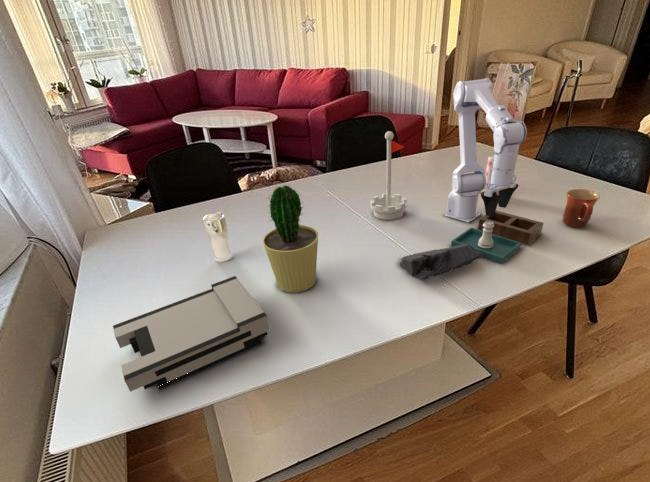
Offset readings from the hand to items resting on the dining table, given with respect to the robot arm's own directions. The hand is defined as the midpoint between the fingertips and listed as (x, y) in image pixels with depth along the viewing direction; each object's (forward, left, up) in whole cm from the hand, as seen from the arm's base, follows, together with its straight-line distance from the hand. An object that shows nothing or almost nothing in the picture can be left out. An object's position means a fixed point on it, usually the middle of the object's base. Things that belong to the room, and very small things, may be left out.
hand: (496, 211), depth 119 cm
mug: (+16, +25, -11) cm, 31 cm away
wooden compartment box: (+1, +9, -10) cm, 14 cm away
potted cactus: (-30, -55, -11) cm, 64 cm away
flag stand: (-38, -3, -11) cm, 40 cm away
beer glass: (-60, -62, -11) cm, 87 cm away
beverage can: (-17, +33, -11) cm, 39 cm away
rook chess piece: (+1, -5, -10) cm, 11 cm away
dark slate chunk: (-4, -22, -10) cm, 24 cm away
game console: (-29, -89, -11) cm, 94 cm away
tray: (+1, -5, -10) cm, 11 cm away
